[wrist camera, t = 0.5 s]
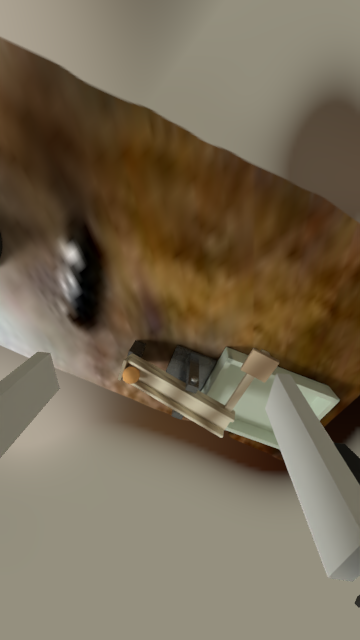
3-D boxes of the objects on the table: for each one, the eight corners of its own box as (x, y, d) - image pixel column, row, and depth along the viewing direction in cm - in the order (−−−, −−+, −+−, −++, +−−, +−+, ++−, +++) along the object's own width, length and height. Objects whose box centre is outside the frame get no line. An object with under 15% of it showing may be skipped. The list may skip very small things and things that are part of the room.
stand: (126, 367, 47) (109, 397, 38) (138, 330, 43) (122, 355, 34) (197, 393, 48) (196, 428, 39) (216, 359, 44) (219, 391, 35)
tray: (193, 404, 50) (192, 418, 46) (226, 346, 42) (228, 357, 38) (281, 436, 51) (287, 452, 47) (328, 386, 43) (340, 400, 40)
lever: (127, 370, 42) (117, 379, 39) (152, 293, 35) (143, 297, 32) (225, 427, 39) (223, 442, 36) (277, 355, 31) (280, 366, 28)
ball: (126, 372, 40) (117, 381, 38) (130, 360, 39) (121, 369, 36) (140, 380, 40) (131, 390, 37) (144, 368, 39) (136, 377, 36)
